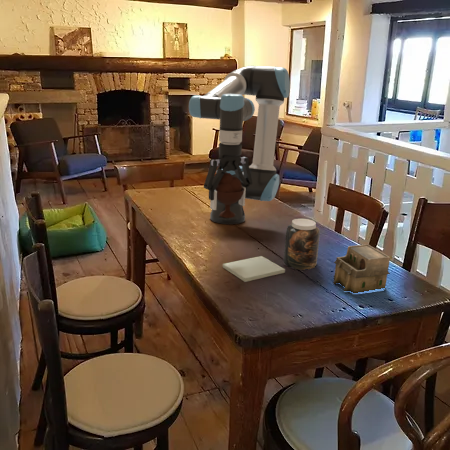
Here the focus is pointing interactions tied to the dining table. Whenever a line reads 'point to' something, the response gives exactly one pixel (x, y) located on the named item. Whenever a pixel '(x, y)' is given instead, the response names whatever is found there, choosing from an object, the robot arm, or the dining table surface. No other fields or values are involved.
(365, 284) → the miniature house
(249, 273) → the board
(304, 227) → the jar
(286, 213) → the dining table surface
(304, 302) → the dining table surface
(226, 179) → the ice cream bowl
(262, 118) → the robot arm
